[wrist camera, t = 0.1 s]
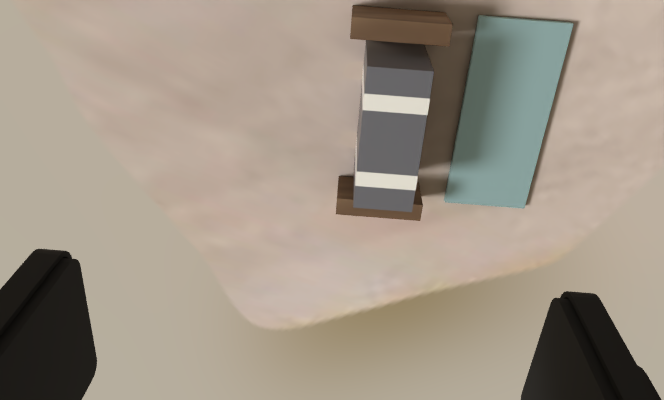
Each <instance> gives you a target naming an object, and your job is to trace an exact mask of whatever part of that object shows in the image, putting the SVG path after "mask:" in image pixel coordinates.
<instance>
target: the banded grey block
mask: <svg viewBox="0 0 664 400" xmlns="http://www.w3.org/2000/svg"><path fill="white" fill-rule="evenodd" d="M433 75H434V70H433V68H432V65H431V62H430V59H429V57H428V54H427V51H426V48H425V46H424V44H412V43H399V42H386V41H373V40H366V46H365V57H364V65H363V75H362V89H361V99H360V110H359V120H358V131H357V139H356V152H355V162H354V193H353V208H365V209H378V210H391V211H403V212H412V209H413V202H414V196H415V191H416V185H417V179H418V170H419V164H420V158H421V151H422V145H423V138H424V132H425V126H426V119H427V115H428V109H429V102H430V94H431V87H432V81H433Z"/></svg>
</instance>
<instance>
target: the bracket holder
mask: <svg viewBox="0 0 664 400" xmlns="http://www.w3.org/2000/svg"><path fill="white" fill-rule="evenodd" d="M452 26H453V24H452V23H451V21H450V19H449V18H448V16H447V14H446V13H445V12H432V11H419V10H406V9H393V8H380V7H367V6H355V5H353V8H352V21H351V35H350V39H360V40H373V41H386V42H399V43H412V44H424V45H437V46H449V44H450V38H451V32H452ZM353 193H354V177H344V176H339V181H338V193H337V207H336V214H340V215H353V216H366V217H378V218H391V219H404V220H416V221H420V219H421V213H422V207H423V204H422V198H421V193H420V187H419V182H417V185H416V191H415V196H414V202H413V209H412V212H403V211H391V210H378V209H365V208H353Z"/></svg>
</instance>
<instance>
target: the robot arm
mask: <svg viewBox="0 0 664 400" xmlns="http://www.w3.org/2000/svg"><path fill="white" fill-rule="evenodd" d="M96 366H97V357H96V352H95V346H94V341H93V335H92V329H91V324H90V318H89V312H88V307H87V301H86V295H85V289H84V284H83V278H82V272H81V267H80V263H79V261H78V260H76V259H72V257H71V255H70V253H69V252H67V251H60V250H47V249H36V250H35V251H33V253H32V254H31V255H30V256H29V257H28V258H27V259H26V260H25V261H24V263H23V264H22V265H21V266H20V267H19V269H18V270H17V271H16V272H15V273H14V274H13V275H12V277H11V278H10V279H9V280H8V281H7V282H6V284H5V285H4V286H3V287H2V288H1V289H0V400H82V398H83V396H84V394H85V392H86V390H87V389H88V386H89V385H90V383H91V381H92V379H93V377H94V375H95V371H96ZM521 400H661V398H660V397H659V395H658V393H657V391H656V390H655V388H654V386H653V384H652V383H651V381H650V379H649V377H648V376H647V374H646V373H645V372H644V370H643V369H642V368H641V367H639V366H638V365H637V364H636V362H635V361H634V359H633V357H632V355H631V354H630V352H629V350H628V348H627V346H626V345H625V343H624V341H623V339H622V338H621V336H620V334H619V332H618V330H617V329H616V327H615V325H614V323H613V322H612V320H611V318H610V316H609V315H608V313H607V311H606V309H605V307H604V306H603V304H602V302H601V300H600V298H599V297H598V296H597V295H596V294H591V293H580V292H568V291H567V292H564V293H563V294H562V295H561V297H560V298H554V299H553V300H552V302H551V304H550V307H549V311H548V313H547V317H546V320H545V323H544V326H543V329H542V332H541V335H540V338H539V341H538V345H537V348H536V351H535V354H534V357H533V360H532V363H531V366H530V369H529V373H528V376H527V379H526V382H525V385H524V388H523V391H522V395H521Z"/></svg>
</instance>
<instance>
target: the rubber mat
mask: <svg viewBox="0 0 664 400" xmlns="http://www.w3.org/2000/svg"><path fill="white" fill-rule="evenodd" d="M572 28H573V23H572V22H561V21H548V20H535V19H522V18H509V17H497V16H484V15H479V16H478V21H477V26H476V32H475V37H474V42H473V48H472V53H471V59H470V64H469V69H468V75H467V80H466V85H465V91H464V96H463V102H462V107H461V112H460V118H459V123H458V128H457V134H456V139H455V144H454V150H453V155H452V161H451V166H450V171H449V177H448V182H447V187H446V193H445V198H444V200H445V202H448V203H461V204H474V205H486V206H499V207H512V208H525V204H526V200H527V197H528V193H529V189H530V185H531V182H532V178H533V174H534V170H535V167H536V163H537V159H538V155H539V152H540V148H541V144H542V140H543V137H544V133H545V129H546V125H547V122H548V118H549V114H550V110H551V107H552V103H553V99H554V95H555V92H556V88H557V84H558V80H559V77H560V73H561V69H562V65H563V62H564V58H565V54H566V50H567V47H568V43H569V39H570V35H571V32H572Z"/></svg>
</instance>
